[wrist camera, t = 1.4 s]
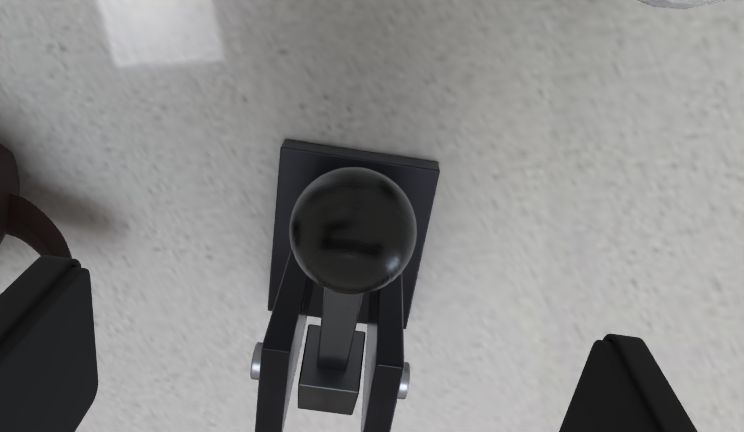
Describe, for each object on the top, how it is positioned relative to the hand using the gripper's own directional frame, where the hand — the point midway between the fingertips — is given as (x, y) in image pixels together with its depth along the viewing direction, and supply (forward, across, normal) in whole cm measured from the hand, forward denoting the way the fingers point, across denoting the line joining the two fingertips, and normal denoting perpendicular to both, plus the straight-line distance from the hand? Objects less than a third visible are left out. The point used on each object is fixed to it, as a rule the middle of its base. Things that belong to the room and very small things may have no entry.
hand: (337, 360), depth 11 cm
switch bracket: (+20, 0, +8) cm, 22 cm away
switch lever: (+8, 0, +3) cm, 9 cm away
